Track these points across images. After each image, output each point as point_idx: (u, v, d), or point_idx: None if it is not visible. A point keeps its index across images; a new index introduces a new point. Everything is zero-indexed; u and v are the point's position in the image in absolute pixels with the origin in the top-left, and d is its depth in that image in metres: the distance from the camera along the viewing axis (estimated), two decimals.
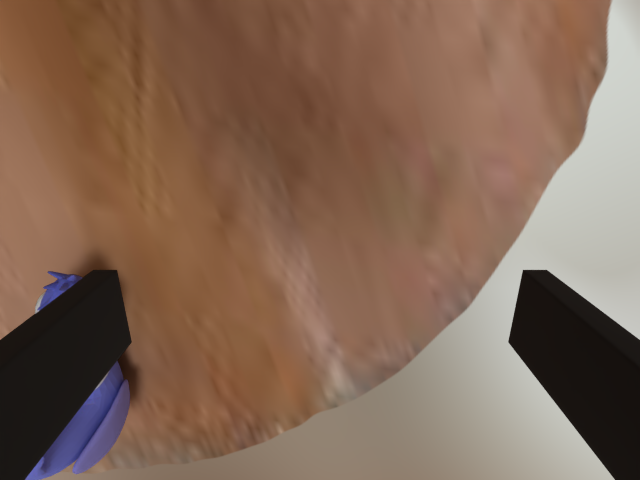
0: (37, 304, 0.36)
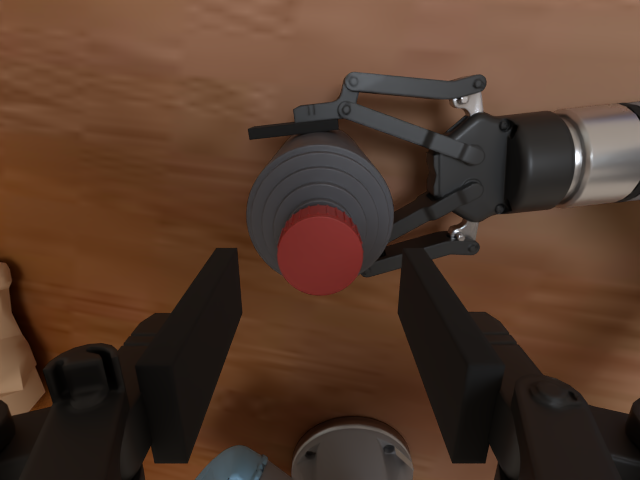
0: None
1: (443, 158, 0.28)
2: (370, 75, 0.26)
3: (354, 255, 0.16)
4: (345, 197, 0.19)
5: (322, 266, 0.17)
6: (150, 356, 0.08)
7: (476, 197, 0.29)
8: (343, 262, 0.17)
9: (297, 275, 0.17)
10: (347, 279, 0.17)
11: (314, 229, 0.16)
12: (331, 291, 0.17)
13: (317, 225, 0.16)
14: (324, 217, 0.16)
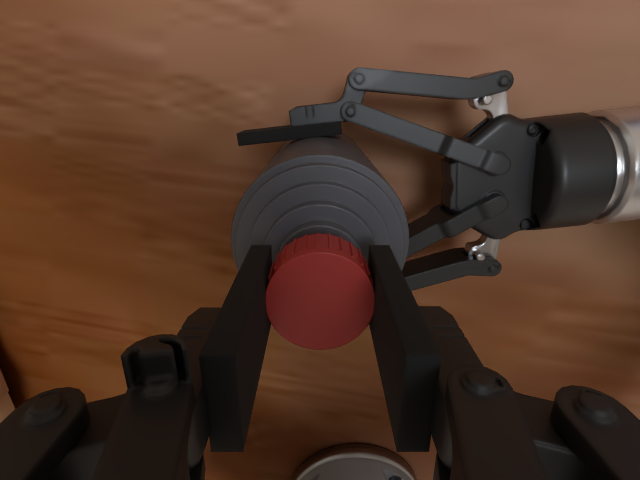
0: None
1: (462, 167, 0.25)
2: (378, 71, 0.23)
3: (364, 300, 0.13)
4: (351, 220, 0.16)
5: (323, 314, 0.13)
6: (211, 347, 0.08)
7: (499, 212, 0.25)
8: (349, 310, 0.13)
9: (291, 325, 0.13)
10: (355, 329, 0.13)
11: (312, 268, 0.12)
12: (334, 344, 0.13)
13: (316, 263, 0.12)
14: (325, 253, 0.12)
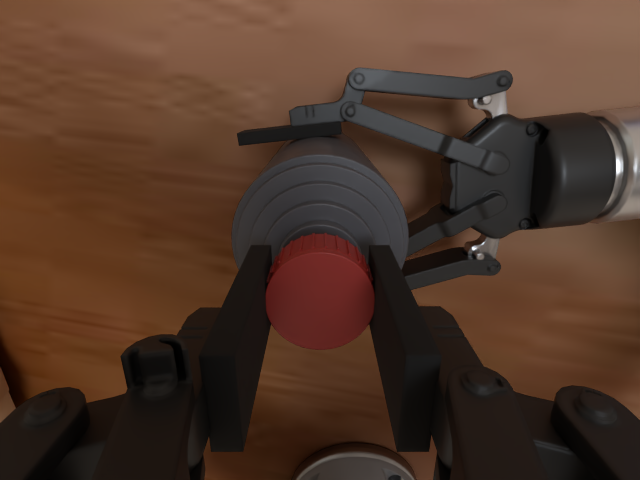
0: None
1: (461, 167, 0.25)
2: (378, 71, 0.23)
3: (303, 265, 0.12)
4: (351, 220, 0.16)
5: (331, 297, 0.13)
6: (211, 347, 0.08)
7: (499, 211, 0.25)
8: (318, 275, 0.12)
9: (352, 321, 0.13)
10: (339, 263, 0.12)
11: (286, 319, 0.13)
12: (363, 277, 0.12)
13: (280, 317, 0.13)
14: (267, 313, 0.13)
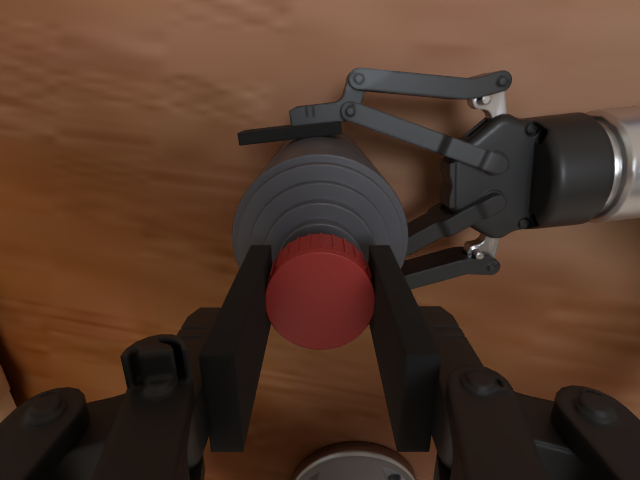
0: None
1: (461, 167, 0.25)
2: (378, 71, 0.23)
3: (286, 326, 0.13)
4: (351, 219, 0.16)
5: (310, 296, 0.13)
6: (211, 347, 0.08)
7: (498, 211, 0.25)
8: (291, 313, 0.13)
9: (330, 268, 0.12)
10: (272, 299, 0.13)
11: (347, 327, 0.13)
12: (278, 274, 0.12)
13: (346, 332, 0.13)
14: (345, 343, 0.13)
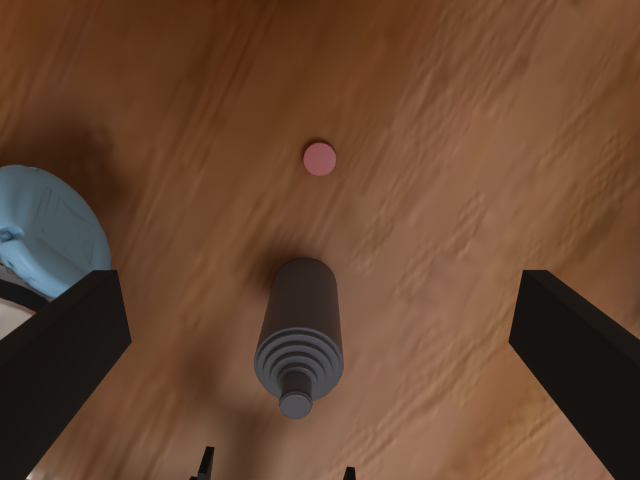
0: None
1: None
2: None
3: (323, 146, 0.42)
4: (312, 394, 0.34)
5: (323, 160, 0.43)
6: None
7: None
8: (325, 152, 0.42)
9: (323, 170, 0.43)
10: (332, 152, 0.43)
11: (308, 157, 0.43)
12: (335, 160, 0.43)
13: (307, 155, 0.43)
14: (305, 152, 0.43)
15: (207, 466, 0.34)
